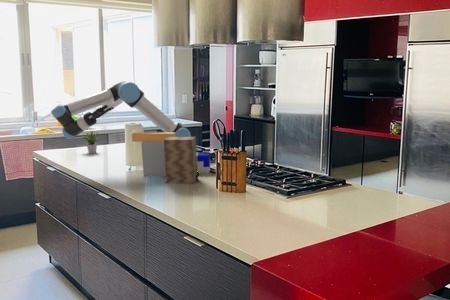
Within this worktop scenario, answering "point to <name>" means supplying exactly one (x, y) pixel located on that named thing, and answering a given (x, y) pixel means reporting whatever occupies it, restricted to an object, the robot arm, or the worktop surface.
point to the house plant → (91, 142)
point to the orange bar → (151, 137)
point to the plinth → (153, 159)
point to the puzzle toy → (203, 162)
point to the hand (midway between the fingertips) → (117, 101)
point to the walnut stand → (180, 159)
